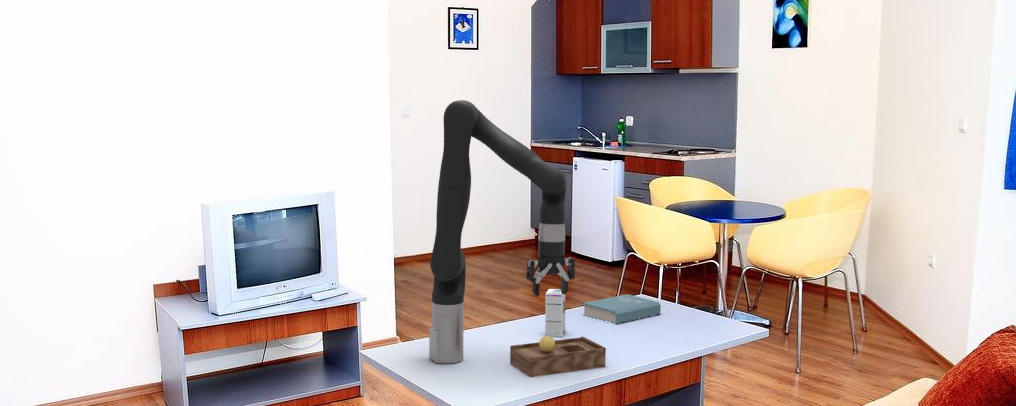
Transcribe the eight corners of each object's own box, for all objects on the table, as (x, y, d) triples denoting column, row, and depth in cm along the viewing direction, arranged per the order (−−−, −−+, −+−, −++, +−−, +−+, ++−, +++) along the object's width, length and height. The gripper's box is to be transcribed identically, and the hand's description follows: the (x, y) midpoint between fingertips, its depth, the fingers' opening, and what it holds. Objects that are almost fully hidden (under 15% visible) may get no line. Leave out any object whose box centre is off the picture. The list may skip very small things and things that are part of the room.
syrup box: (562, 337, 286) (563, 293, 284) (544, 336, 287) (545, 292, 285) (565, 332, 291) (566, 289, 289) (547, 331, 292) (548, 288, 291)
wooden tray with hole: (530, 377, 245) (530, 357, 244) (510, 363, 257) (510, 345, 256) (605, 366, 255) (605, 347, 255) (582, 354, 267) (582, 336, 266)
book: (626, 307, 329) (626, 294, 328) (660, 316, 317) (660, 302, 316) (582, 316, 315) (583, 302, 314) (616, 326, 302) (616, 311, 302)
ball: (543, 354, 251) (543, 339, 250) (536, 350, 255) (536, 334, 255) (557, 353, 253) (558, 337, 252) (550, 348, 257) (550, 333, 257)
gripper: (534, 242, 246) (533, 299, 248) (580, 239, 252) (578, 296, 254) (523, 237, 253) (522, 293, 255) (568, 235, 258) (566, 290, 260)
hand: (550, 294), depth 254 cm, fingers open, 8 cm apart
